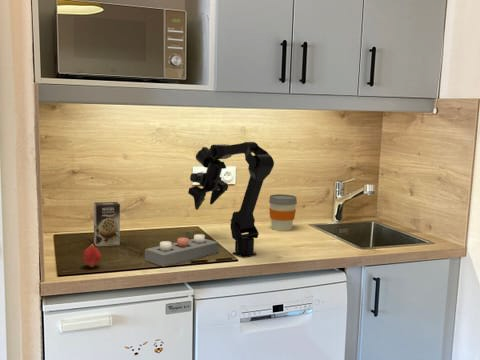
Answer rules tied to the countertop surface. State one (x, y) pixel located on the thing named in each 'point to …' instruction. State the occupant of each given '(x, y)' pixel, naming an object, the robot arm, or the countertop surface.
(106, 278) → the countertop surface
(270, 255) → the countertop surface
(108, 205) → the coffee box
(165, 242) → the button pale left
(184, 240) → the button red middle
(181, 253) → the button panel
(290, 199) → the reusable coffee cup
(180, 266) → the countertop surface
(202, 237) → the button pale right
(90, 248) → the onion
